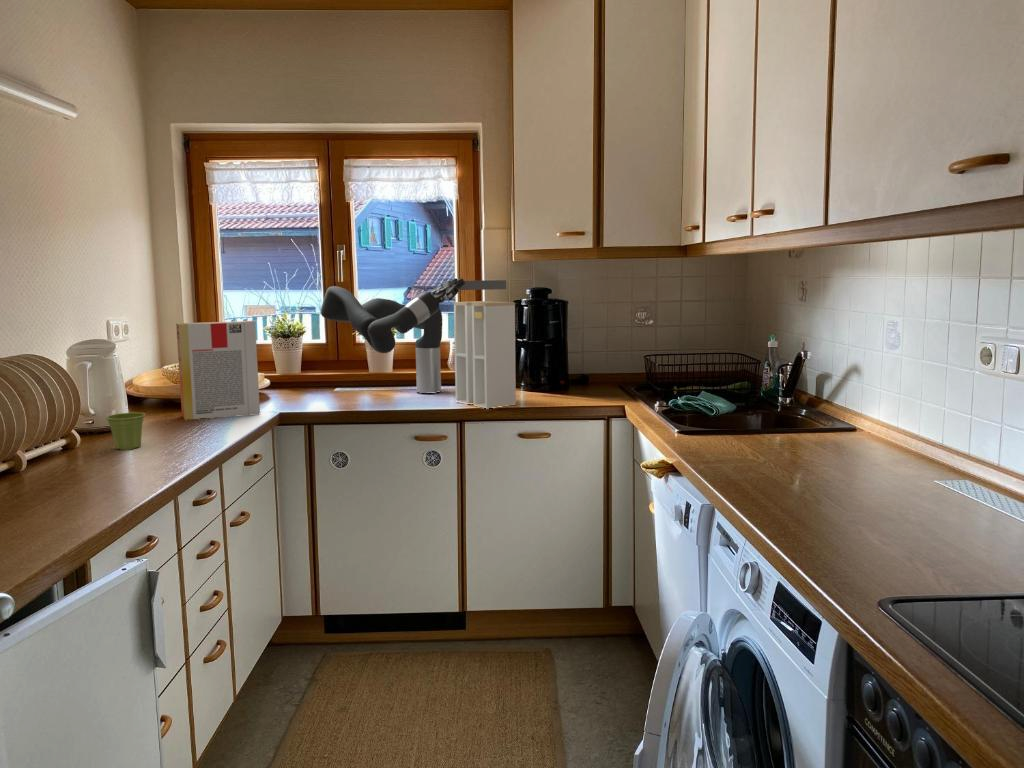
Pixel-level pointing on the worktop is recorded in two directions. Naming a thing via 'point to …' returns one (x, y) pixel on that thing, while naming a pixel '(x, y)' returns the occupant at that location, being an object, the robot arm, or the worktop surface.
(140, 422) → the plant pot
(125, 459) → the worktop surface
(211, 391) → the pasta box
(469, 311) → the rack
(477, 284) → the slat
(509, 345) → the rack
